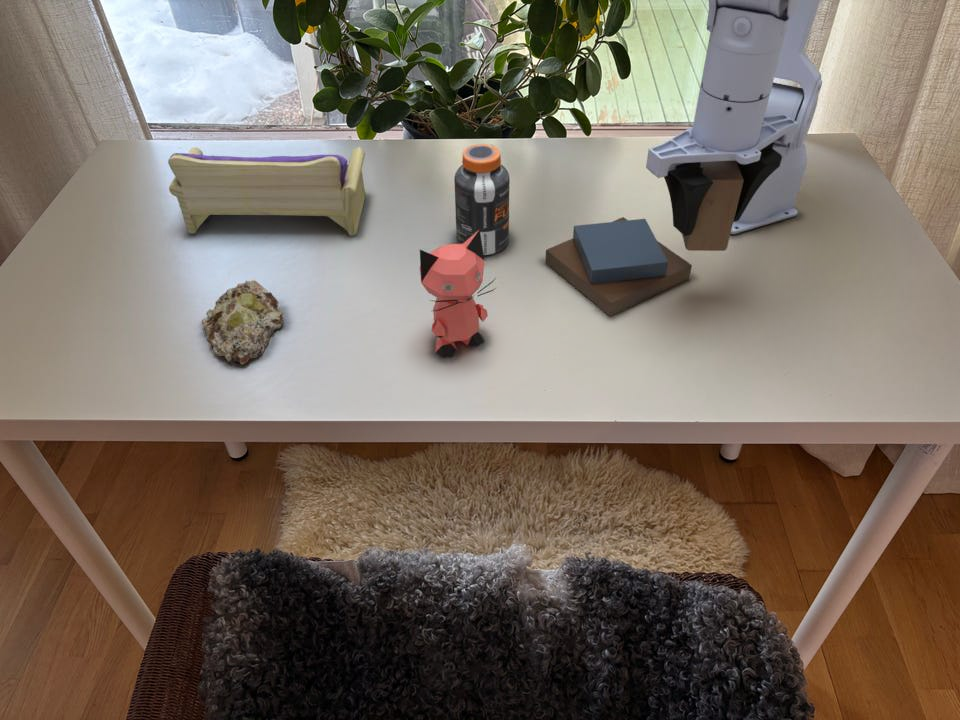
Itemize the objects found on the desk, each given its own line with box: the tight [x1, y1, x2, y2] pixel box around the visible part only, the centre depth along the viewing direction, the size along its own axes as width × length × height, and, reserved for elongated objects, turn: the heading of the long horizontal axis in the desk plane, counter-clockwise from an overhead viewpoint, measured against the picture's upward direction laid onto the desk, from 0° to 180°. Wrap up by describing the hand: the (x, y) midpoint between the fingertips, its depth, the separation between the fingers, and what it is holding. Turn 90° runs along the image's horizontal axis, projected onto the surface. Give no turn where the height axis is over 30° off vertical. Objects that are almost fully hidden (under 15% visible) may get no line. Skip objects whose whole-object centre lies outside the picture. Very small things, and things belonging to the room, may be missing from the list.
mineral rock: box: [201, 280, 285, 366], centre depth 77 cm, size 11×4×8 cm
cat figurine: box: [419, 230, 498, 359], centre depth 72 cm, size 7×7×12 cm
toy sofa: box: [167, 146, 366, 237], centre depth 89 cm, size 21×9×10 cm, turn 88°
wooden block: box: [681, 160, 743, 252], centre depth 73 cm, size 4×4×8 cm
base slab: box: [544, 216, 693, 317], centre depth 83 cm, size 11×11×2 cm
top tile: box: [572, 218, 668, 284], centre depth 82 cm, size 8×8×2 cm
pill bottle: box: [453, 143, 511, 256], centre depth 84 cm, size 6×6×11 cm
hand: (705, 223), depth 75 cm, fingers closed on wooden block, 5 cm apart
